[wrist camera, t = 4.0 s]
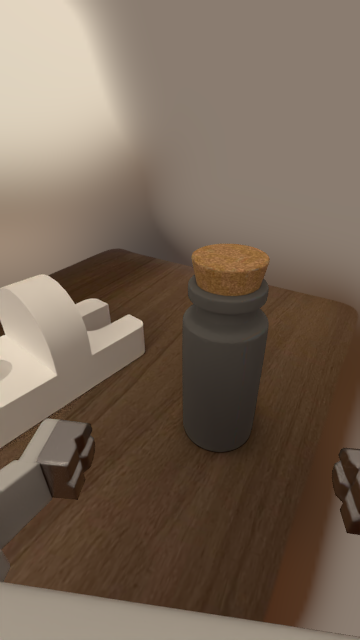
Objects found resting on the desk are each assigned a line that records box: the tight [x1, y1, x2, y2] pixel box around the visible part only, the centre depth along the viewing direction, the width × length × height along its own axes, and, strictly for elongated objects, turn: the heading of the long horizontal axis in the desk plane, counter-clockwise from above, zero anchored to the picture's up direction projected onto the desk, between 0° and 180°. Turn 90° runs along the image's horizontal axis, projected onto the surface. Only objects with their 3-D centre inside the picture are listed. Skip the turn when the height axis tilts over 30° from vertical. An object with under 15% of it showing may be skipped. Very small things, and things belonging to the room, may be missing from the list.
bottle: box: [183, 244, 270, 452], centre depth 23 cm, size 6×6×15 cm
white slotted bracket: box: [0, 274, 145, 448], centre depth 30 cm, size 10×18×10 cm, turn 140°
